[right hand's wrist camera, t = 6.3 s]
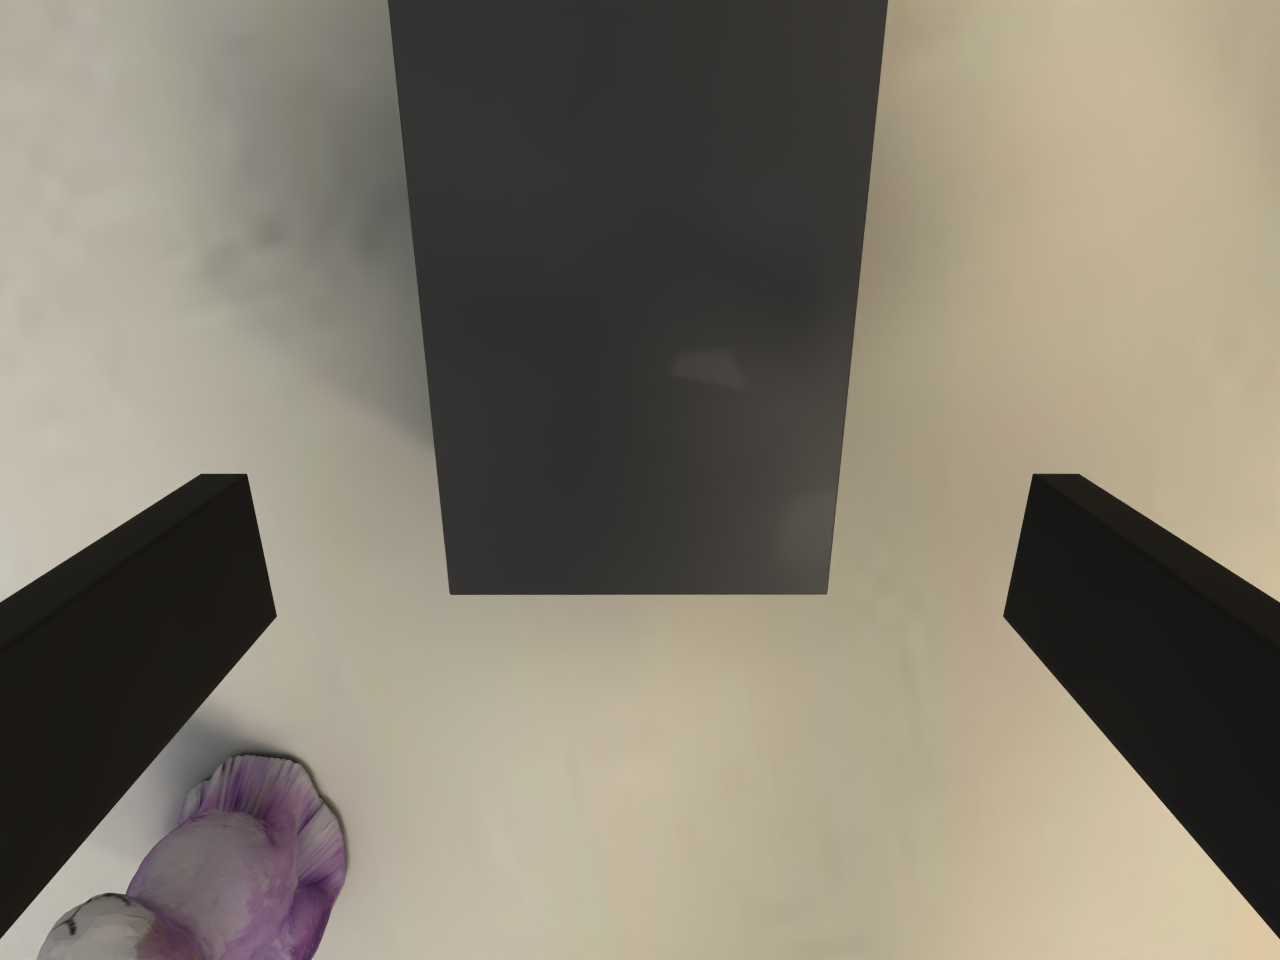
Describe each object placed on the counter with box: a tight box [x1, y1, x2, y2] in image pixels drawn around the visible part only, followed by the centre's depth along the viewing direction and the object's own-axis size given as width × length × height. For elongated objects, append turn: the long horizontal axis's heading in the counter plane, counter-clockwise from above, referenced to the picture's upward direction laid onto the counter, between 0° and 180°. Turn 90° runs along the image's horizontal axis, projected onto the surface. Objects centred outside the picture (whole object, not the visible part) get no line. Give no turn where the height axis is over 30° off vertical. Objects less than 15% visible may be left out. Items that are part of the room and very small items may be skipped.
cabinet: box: [388, 0, 888, 595], centre depth 22 cm, size 16×11×8 cm
